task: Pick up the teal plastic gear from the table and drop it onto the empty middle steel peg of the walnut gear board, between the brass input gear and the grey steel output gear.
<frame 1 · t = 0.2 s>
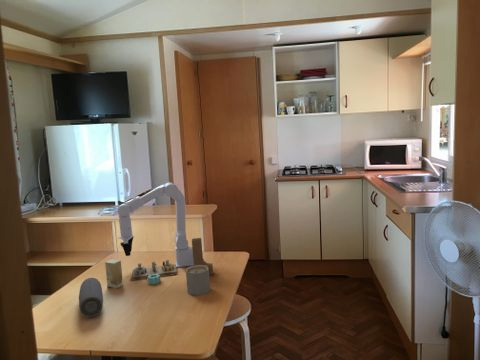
hand: (128, 253, 206), 10 cm above the table, tool pointing down, fingers open, 7 cm apart
teal gear: (154, 282, 191), on the table
gear board: (154, 273, 203), on the table
wooden block: (204, 274, 196), on the table
bluetooth speaker: (92, 308, 167), on the table
skincare box: (115, 286, 190), on the table
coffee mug: (199, 289, 179), on the table
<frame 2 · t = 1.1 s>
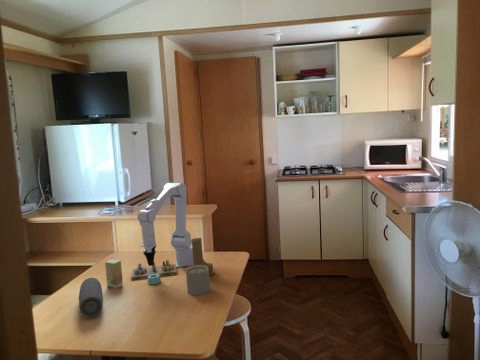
hand: (151, 262, 190), 9 cm above the table, tool pointing down, fingers open, 7 cm apart
nothing on the table moved.
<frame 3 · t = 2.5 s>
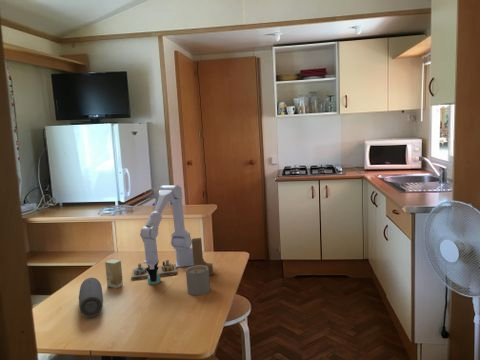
hand: (153, 278, 191), 2 cm above the table, tool pointing down, fingers closed on teal gear, 6 cm apart
teal gear: (154, 282, 191), on the table, touching gripper
everything else where it was.
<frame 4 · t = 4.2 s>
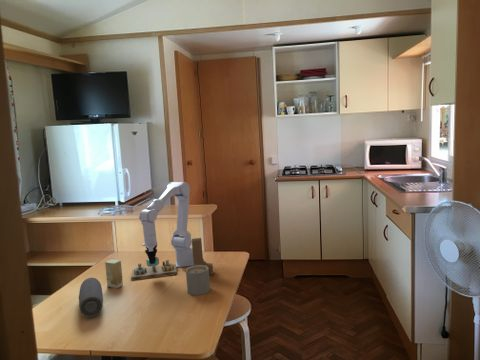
hand: (152, 261, 194), 9 cm above the table, tool pointing down, fingers closed on teal gear, 6 cm apart
teal gear: (153, 264, 194), point 7 cm above the table, touching gripper
everything else where it was.
when the fingers open (5 cm above the table, at t = 6.2 s): teal gear drops 2 cm, resting on gear board.
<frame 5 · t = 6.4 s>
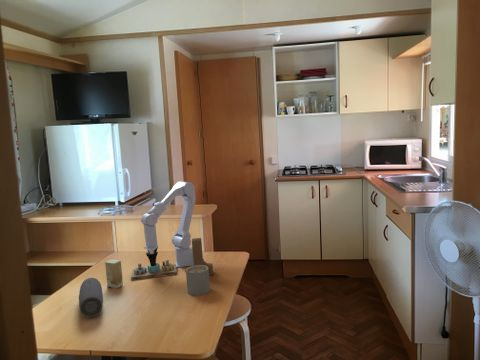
hand: (153, 263, 202), 5 cm above the table, tool pointing down, fingers open, 7 cm apart
teal gear: (154, 270, 202), point 1 cm above the table, touching gear board
everything else where it was.
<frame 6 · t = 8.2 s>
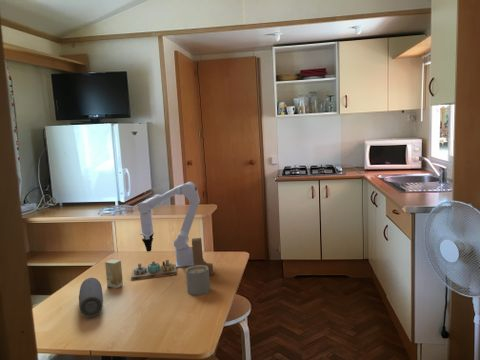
hand: (149, 249, 213), 9 cm above the table, tool pointing down, fingers open, 7 cm apart
nothing on the table moved.
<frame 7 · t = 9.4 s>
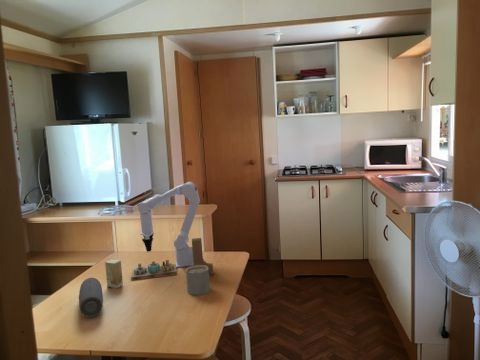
hand: (149, 249, 213), 9 cm above the table, tool pointing down, fingers open, 7 cm apart
nothing on the table moved.
at the end: teal gear 0.1 cm from the gear board (horizontally); teal gear point 1.5 cm above the table; teal gear tilted 0° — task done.
